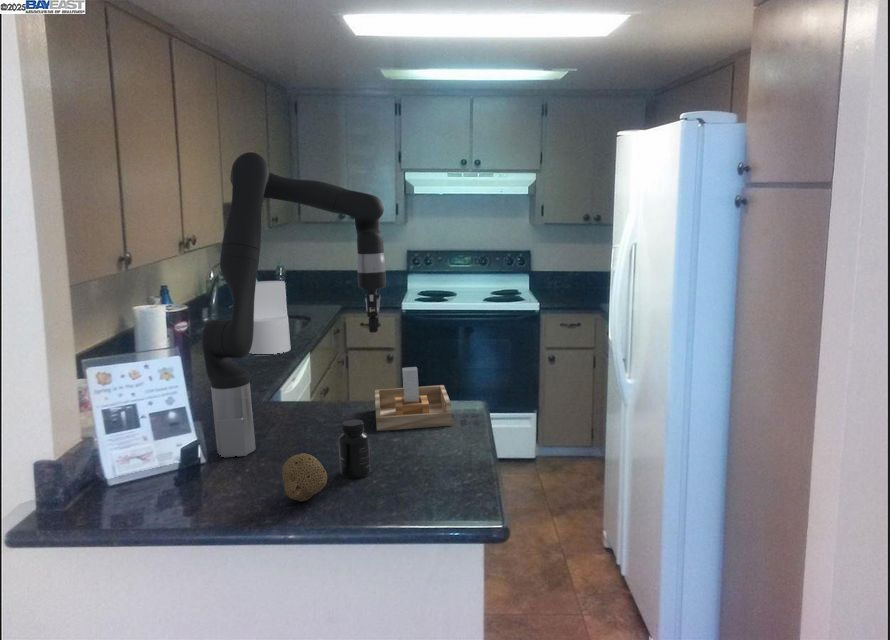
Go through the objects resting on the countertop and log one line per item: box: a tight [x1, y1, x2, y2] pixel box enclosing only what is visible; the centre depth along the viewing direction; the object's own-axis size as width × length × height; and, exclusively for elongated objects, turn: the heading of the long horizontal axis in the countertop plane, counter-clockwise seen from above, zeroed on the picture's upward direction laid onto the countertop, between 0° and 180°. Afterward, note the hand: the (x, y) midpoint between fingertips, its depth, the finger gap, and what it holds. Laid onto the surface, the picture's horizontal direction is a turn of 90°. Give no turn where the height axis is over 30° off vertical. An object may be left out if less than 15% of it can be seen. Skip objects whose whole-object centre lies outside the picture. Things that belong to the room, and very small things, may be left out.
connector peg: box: [402, 366, 420, 404], centre depth 209 cm, size 4×4×12 cm
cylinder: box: [249, 280, 292, 355], centre depth 309 cm, size 17×17×28 cm
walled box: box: [374, 384, 453, 432], centre depth 209 cm, size 20×20×6 cm
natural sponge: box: [281, 452, 328, 502], centre depth 155 cm, size 9×9×10 cm
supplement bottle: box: [338, 419, 372, 480], centre depth 168 cm, size 7×7×12 cm
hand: (374, 329), depth 205 cm, fingers open, 8 cm apart
